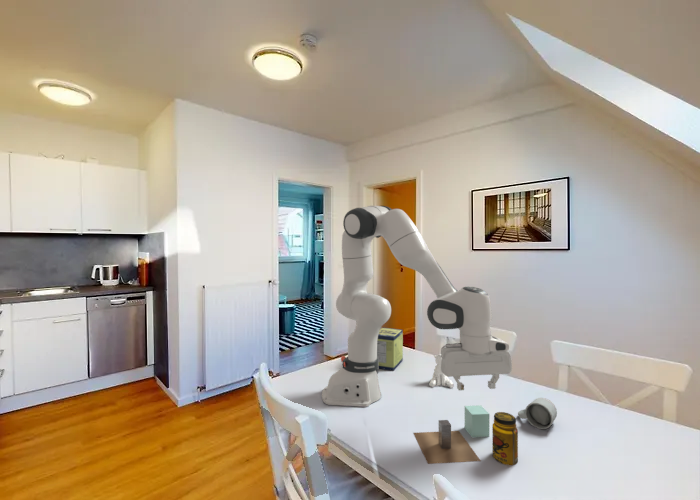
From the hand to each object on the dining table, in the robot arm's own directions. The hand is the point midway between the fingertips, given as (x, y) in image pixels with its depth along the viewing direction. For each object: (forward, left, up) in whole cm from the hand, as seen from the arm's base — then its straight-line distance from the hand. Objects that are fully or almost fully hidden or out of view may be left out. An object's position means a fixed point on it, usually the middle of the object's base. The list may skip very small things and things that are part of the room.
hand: (476, 388), depth 98 cm
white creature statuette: (+2, +38, -15) cm, 40 cm away
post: (-12, -5, -13) cm, 18 cm away
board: (-12, -5, -14) cm, 19 cm away
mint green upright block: (0, +1, -14) cm, 14 cm away
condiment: (+3, -11, -15) cm, 18 cm away
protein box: (-15, +62, -15) cm, 65 cm away
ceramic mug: (+23, +6, -15) cm, 28 cm away
